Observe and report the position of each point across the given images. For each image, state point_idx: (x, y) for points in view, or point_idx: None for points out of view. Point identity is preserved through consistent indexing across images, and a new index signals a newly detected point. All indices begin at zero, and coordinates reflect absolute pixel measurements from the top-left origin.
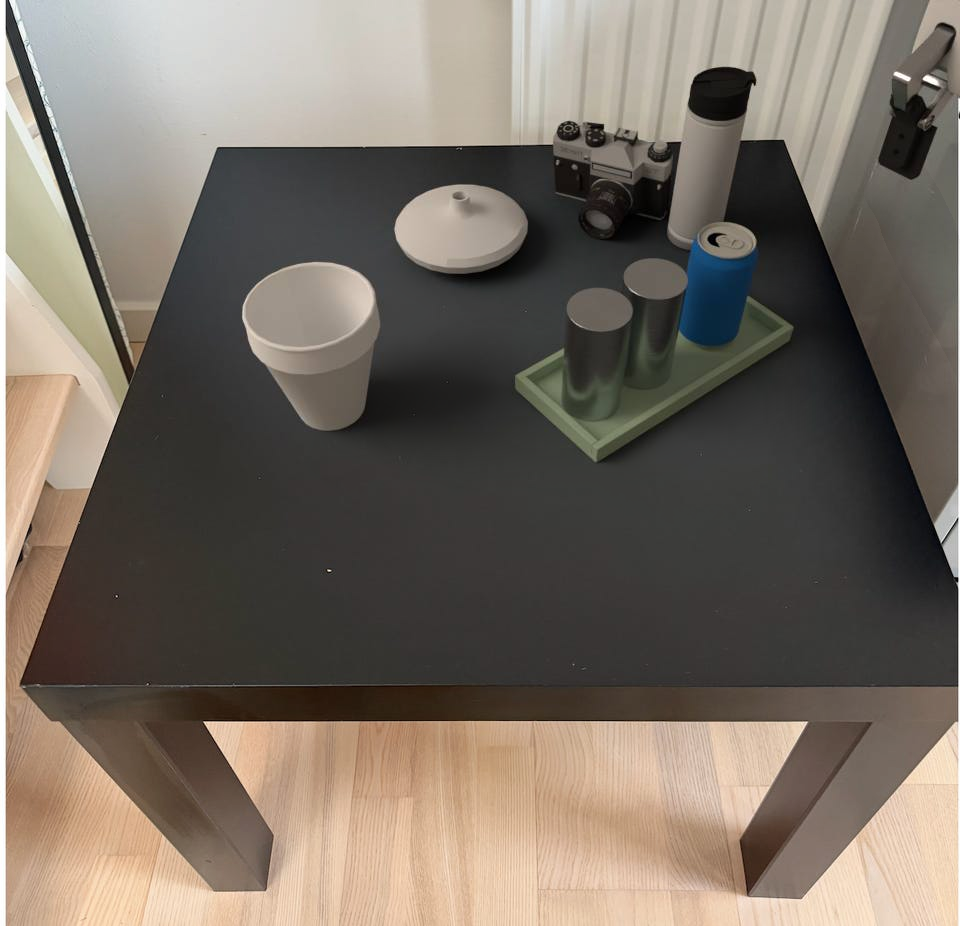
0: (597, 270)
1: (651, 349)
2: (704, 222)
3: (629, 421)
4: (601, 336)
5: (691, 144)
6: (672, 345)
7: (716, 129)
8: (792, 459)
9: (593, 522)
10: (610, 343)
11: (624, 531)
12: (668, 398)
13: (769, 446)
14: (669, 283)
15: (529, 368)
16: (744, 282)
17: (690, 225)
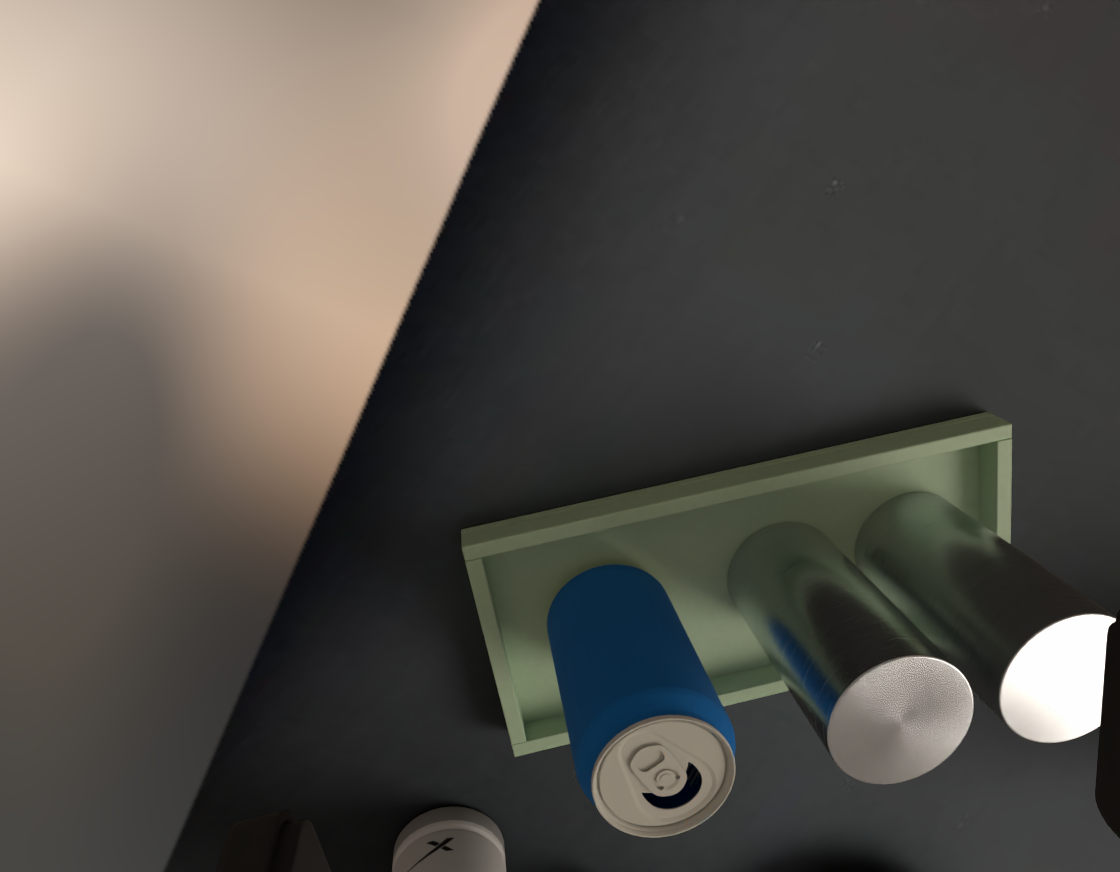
0: None
1: (864, 578)
2: (470, 866)
3: (886, 468)
4: (1105, 610)
5: None
6: (807, 575)
7: None
8: (674, 252)
9: (1078, 294)
10: (1068, 592)
11: (1050, 251)
12: (821, 478)
13: (691, 302)
14: (889, 696)
15: None
16: (637, 658)
17: (494, 868)
